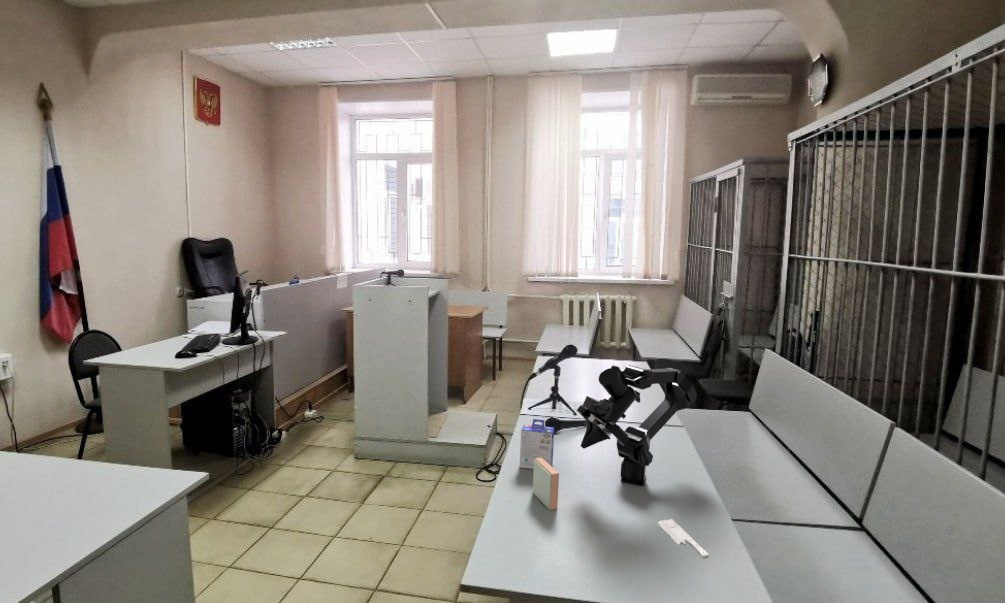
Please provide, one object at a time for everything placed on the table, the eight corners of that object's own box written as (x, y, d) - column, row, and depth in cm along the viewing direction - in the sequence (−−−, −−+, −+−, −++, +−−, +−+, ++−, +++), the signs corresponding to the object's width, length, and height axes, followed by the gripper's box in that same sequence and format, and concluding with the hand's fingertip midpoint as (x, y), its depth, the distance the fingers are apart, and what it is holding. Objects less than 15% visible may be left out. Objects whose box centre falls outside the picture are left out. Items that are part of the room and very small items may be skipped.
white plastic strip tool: (688, 560, 119) (689, 556, 119) (654, 524, 133) (654, 520, 133) (708, 557, 120) (708, 553, 120) (672, 522, 135) (672, 518, 134)
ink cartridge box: (553, 464, 165) (555, 419, 163) (551, 472, 159) (553, 426, 158) (522, 460, 167) (523, 416, 165) (519, 468, 161) (520, 422, 159)
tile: (539, 491, 148) (541, 457, 146) (557, 508, 138) (559, 472, 137) (532, 492, 147) (533, 458, 145) (549, 510, 138) (550, 474, 136)
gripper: (583, 377, 154) (548, 418, 151) (621, 397, 136) (582, 443, 134) (605, 400, 158) (571, 441, 155) (644, 422, 141) (607, 468, 138)
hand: (582, 447), depth 145 cm, fingers closed
